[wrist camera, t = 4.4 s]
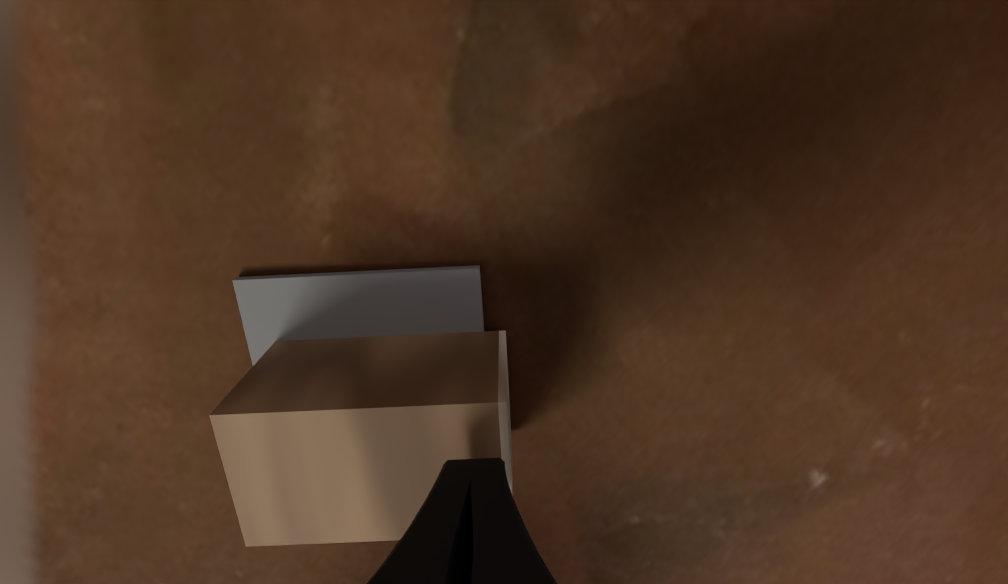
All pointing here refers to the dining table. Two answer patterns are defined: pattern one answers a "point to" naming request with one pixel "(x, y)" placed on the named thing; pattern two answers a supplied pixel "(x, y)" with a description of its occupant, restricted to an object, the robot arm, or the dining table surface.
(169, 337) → the dining table surface
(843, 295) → the dining table surface
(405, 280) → the slate mat
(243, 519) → the walnut block
